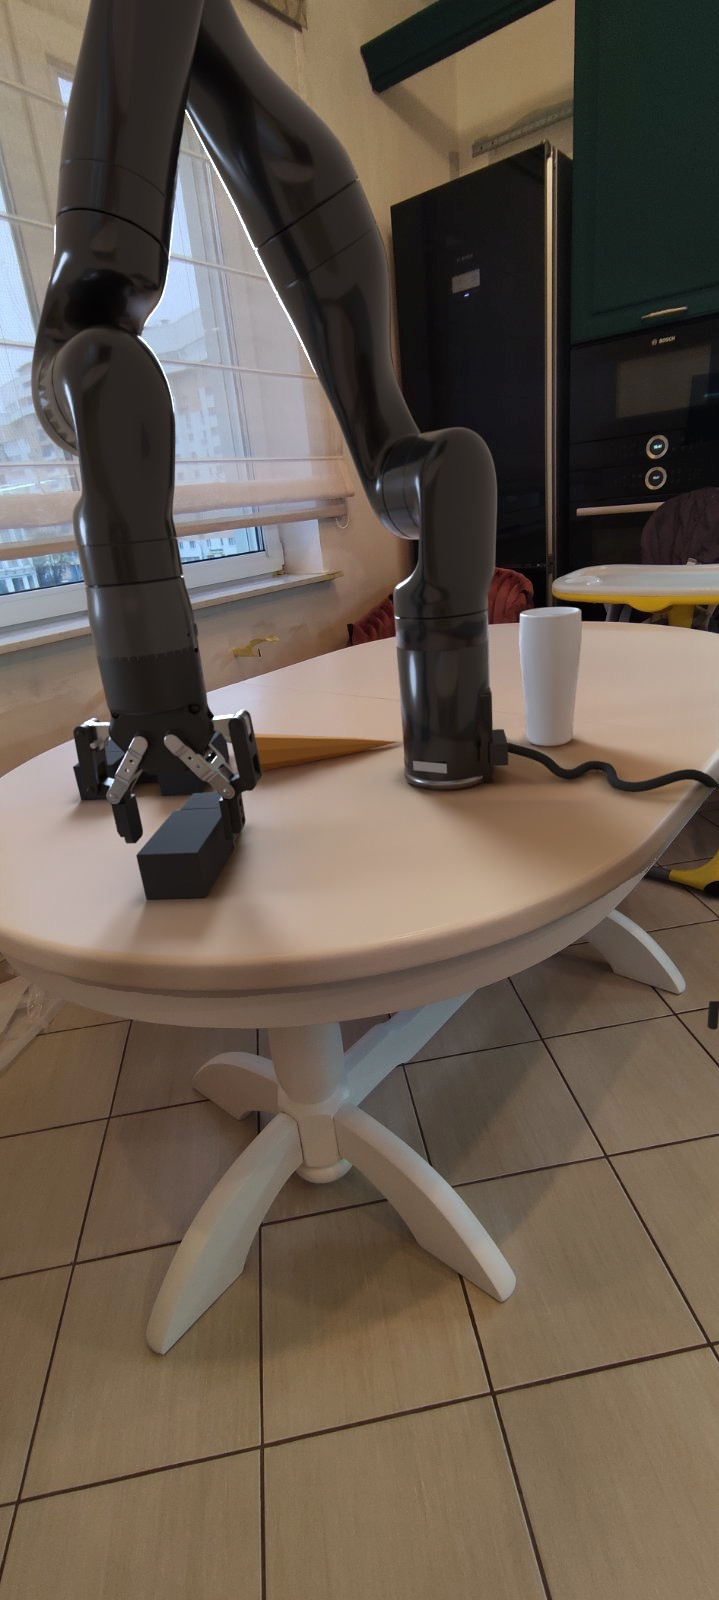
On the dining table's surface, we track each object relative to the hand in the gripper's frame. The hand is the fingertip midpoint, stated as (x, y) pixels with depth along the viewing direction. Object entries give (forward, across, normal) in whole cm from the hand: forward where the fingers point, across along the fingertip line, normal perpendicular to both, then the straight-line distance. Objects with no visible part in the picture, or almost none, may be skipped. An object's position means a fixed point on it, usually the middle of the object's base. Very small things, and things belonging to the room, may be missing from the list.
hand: (184, 838), depth 60 cm
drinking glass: (+3, +34, +31) cm, 46 cm away
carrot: (+3, +7, +29) cm, 30 cm away
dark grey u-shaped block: (+3, -12, +25) cm, 27 cm away
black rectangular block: (+3, 0, +2) cm, 4 cm away
